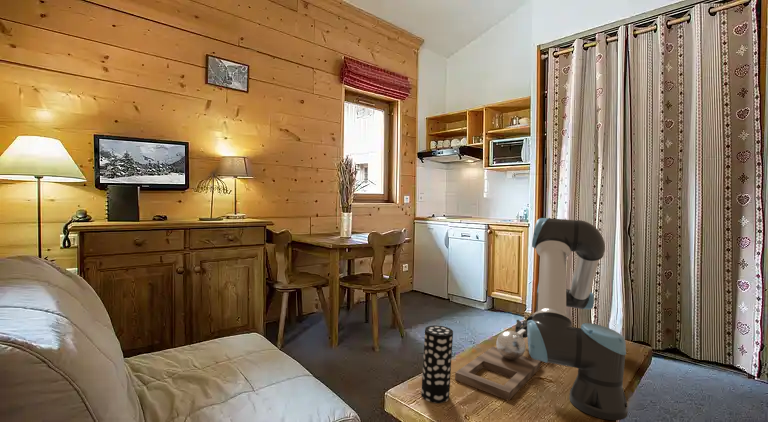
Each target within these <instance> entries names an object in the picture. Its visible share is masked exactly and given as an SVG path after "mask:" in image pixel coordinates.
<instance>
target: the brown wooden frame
mask: <svg viewBox="0 0 768 422" xmlns="http://www.w3.org/2000/svg"><path fill="white" fill-rule="evenodd" d="M541 362H542V361H539V360H535V359H533V358H532V357H527V356H524V355H522V356H521V357H520V358H518V359H515V360H509V359H506V358H504V357H503V356H502V355H501V354H500V353H499V352H498V350H497V346H491V347H490V348H489V349H487V350H486V351H484V352H483V353H481V354H480V355H479V356H477V357H476V358H474V359H473V360H471V361H469V362H468V363H467V364H465V365H463V367H461V368H459V369H458V370H456V371H455V377H454V379H455V381H458V382H460V383H462V384H465V385H468V386H471V387H473V388H475V389H478V390H480V391H484V392H486V393H487V394H491V395H493V396H496V397H499V398H501V399H504V400H506V401H510V400H511V399H512V398H513V397H514V396H515V395H516V394H517V393H518V392H519V390H521V389H522V388H523V387H524V386H525V385H526V384H527V382H529V380H530V379H531V378H532V377H534V375H535V374H536V373H537V372H538V371H539V370H540V369H541ZM482 369H485V370H488V371H491V372H494V373H497V374H500V375H502V376H504V377H505V376H506V377H508V378H509V379H508V381H506V382H505V383H504V384H501V383H498V382H495V381H493V380H490V379H487V378H485V377H482V376H480V375H477V373H478V372H480V371H481V370H482Z"/></svg>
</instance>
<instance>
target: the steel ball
mask: <svg viewBox="0 0 768 422" xmlns="http://www.w3.org/2000/svg"><path fill="white" fill-rule="evenodd" d="M495 343H496V346H495V347H496V348H497V350H498V352H499V353H500V354H501V355H502V356H503V357H504V358H506V359H509V360H515V359H518V358H520V357H521V356H524V353H525V351H526V342H525V338H522V336H521V335H520V334H518V333H517V332H515V330H504V331H503V332H501V333H499V335H498V336H497V338H496V342H495Z"/></svg>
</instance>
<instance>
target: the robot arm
mask: <svg viewBox="0 0 768 422" xmlns="http://www.w3.org/2000/svg"><path fill="white" fill-rule="evenodd" d="M532 234H533V236H532V241H531V247H532V248H534V249H535V251H536V254H537V255H538V256H539V270H538V272H539V273H538V284H537V291H536V304H535V305H536V307H535V312H534V313H532V314H531V315H529V316H528V317H527V318H526V320H523V321H521V320H519V319H516V321H515V322H516V324H515V329H514V331H515V332H517V333H518V334H520V335H521V336H522V338H523V339H526V338H527V346H528V353H529V356H530V358H532V359H535V360H538V361H541V362H543V363H546V364H553V365H559V366H565V367H570V368H575V369H577V375H576V378H575V380H574V382H573V385H572V387H571V388H570V390H569V401H570V403H571V404H572V405H573V406H574V407H575V408H576V409H578V410H579V411H581V412H583V413H584V414H587V415H590V416H592V417H595V418H597V419H603V420H608V421H621V420H625V419H626V418H627V417H628V412H629V405H628V403H627V398H626V394H625V390H624V387H623V384H624V383H623V382H624V375H625V361H626V355H627V349H626V348H627V347H626V344H627V343H626V340H625V337H624V336H623V335H622V334H620V333H619V332H618V331H616V330H613V329H612V328H610V327H607V326H604V325H601V324H596V323H592V322H583V323H582V324H581V325H580V328H579V327H575V326H573V322H572V319H571V318H570V317H569V316H568V315H567V308H571V309H572V308H573V309H579V310H589V311H591V310H592V309H593V308H594V303H595V295H594V293H593V292H591V291H592V286H593V285H594V279H595V276H596V272H597V269H598V265H599V262H600V261H601V259H602V258H604V255H605V251H606V243H605V240H604V237H603V235H602V233H601V232H600V231H599V229H598V228H597V227H596V226H594V225H593V224H592V223H590V222H588V221H585V220H582V219H581V220H580V219H563V218H551V217H548V218H546V217H544V218H543V217H540V218H538V219H537V220H536V222H535V226H534V230H533V233H532ZM571 252H574V253H575V254H576V257H575V258H576V259H575V263H574V269H573V273H572V279H571V283H570V286H569V287H570V288H568V289H567V258H568V257H569V256H570V254H571Z"/></svg>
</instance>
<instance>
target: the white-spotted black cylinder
mask: <svg viewBox="0 0 768 422" xmlns="http://www.w3.org/2000/svg"><path fill="white" fill-rule="evenodd" d="M423 338H424V342H423V356H422V357H423V358H422V359H423V360H422V372H421V373H422V376H421V391H420V392H421V394H420V395H421V398H422V399H424V400H425V401H427V402H429V403H432V404H433V403H434V404H443V403H446V402H448V401H449V400H450V389H451V388H450V386H451V373H452V371H451V370H452V357H453V354H452V353H453V342H454V341H453V340H454V331H453V330H452V329H451V328H450V327H448V326H444V325H433V324H432V325H429V326H426V327H425V329H424V337H423Z"/></svg>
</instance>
